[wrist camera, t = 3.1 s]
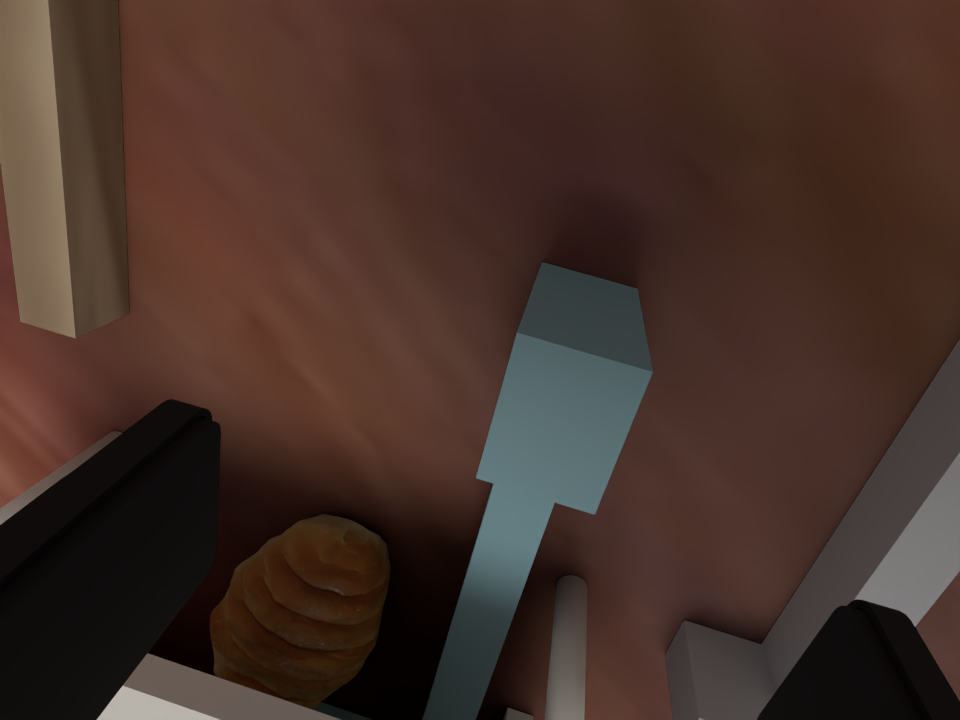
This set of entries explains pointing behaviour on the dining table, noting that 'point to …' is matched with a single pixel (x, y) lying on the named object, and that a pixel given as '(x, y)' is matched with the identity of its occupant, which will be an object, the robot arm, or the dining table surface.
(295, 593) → the pastry
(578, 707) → the desk
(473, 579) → the blue-grey long flat part
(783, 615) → the tee stick
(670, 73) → the dining table surface
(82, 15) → the brown angular wooden piece
